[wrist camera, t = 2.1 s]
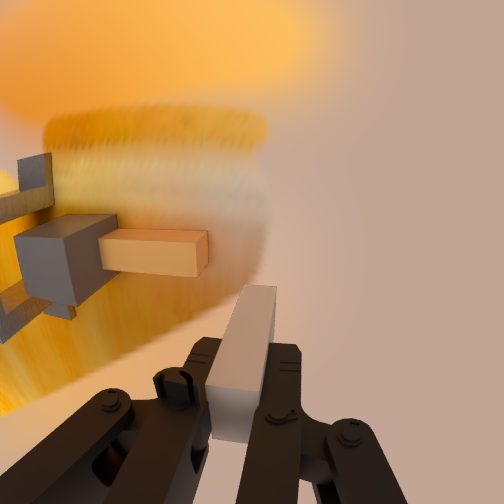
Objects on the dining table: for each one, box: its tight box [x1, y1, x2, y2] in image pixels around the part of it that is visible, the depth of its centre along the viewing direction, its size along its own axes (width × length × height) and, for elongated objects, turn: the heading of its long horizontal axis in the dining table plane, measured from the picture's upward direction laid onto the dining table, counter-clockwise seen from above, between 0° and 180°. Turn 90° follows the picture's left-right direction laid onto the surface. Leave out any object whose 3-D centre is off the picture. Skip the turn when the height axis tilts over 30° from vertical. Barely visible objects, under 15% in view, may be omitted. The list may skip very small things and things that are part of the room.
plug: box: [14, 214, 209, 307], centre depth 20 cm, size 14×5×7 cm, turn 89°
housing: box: [0, 153, 76, 344], centre depth 20 cm, size 4×17×10 cm, turn 179°
